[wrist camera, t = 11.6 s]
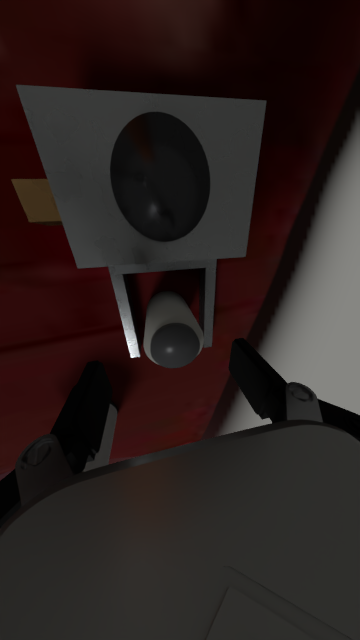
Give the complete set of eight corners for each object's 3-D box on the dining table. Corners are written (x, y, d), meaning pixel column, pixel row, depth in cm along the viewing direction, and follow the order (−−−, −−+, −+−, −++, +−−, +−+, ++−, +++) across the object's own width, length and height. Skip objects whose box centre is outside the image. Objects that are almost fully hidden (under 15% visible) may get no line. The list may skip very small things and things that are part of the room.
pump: (143, 293, 20) (137, 325, 12) (186, 289, 20) (207, 316, 12) (151, 338, 23) (150, 387, 15) (187, 333, 23) (205, 378, 16)
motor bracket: (35, 149, 13) (-96, 42, 6) (225, 152, 15) (286, 74, 8) (104, 350, 22) (84, 396, 16) (214, 336, 24) (237, 371, 18)
